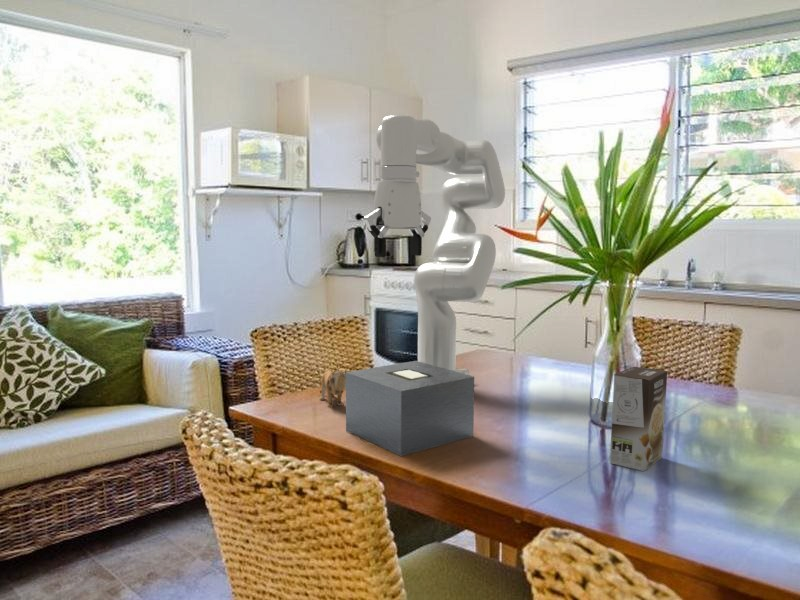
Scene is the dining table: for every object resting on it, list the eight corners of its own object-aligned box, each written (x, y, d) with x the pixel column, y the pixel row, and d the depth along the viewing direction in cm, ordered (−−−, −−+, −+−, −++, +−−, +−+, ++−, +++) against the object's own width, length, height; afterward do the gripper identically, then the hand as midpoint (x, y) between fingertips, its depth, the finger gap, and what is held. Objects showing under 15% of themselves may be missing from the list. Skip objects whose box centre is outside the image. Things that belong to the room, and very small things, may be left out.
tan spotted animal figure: (355, 408, 151) (355, 369, 150) (334, 411, 148) (333, 371, 147) (329, 393, 164) (329, 357, 162) (309, 396, 161) (309, 359, 160)
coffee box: (645, 472, 114) (650, 380, 112) (608, 463, 118) (612, 374, 116) (663, 457, 121) (668, 370, 119) (628, 449, 125) (632, 365, 123)
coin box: (415, 414, 146) (415, 360, 145) (473, 436, 132) (474, 376, 130) (346, 430, 135) (345, 372, 134) (401, 456, 121) (401, 391, 119)
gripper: (418, 177, 151) (418, 254, 153) (355, 174, 141) (355, 256, 143) (440, 176, 145) (440, 255, 147) (376, 173, 135) (376, 258, 137)
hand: (398, 256), depth 145 cm, fingers open, 9 cm apart
